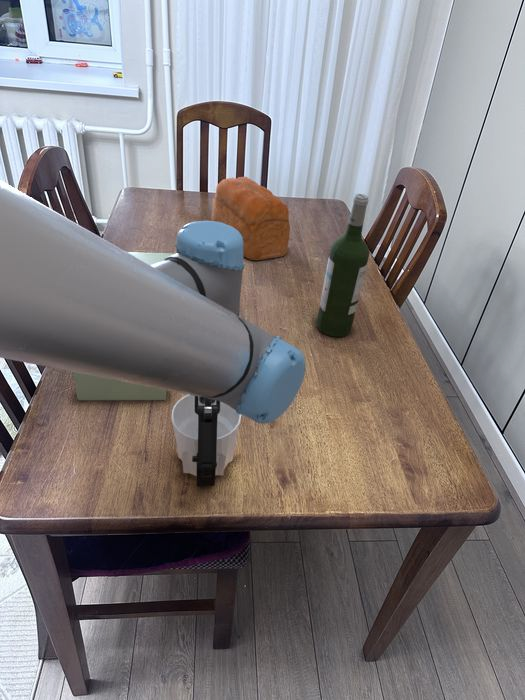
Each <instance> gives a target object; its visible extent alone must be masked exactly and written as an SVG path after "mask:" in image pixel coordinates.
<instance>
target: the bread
mask: <svg viewBox="0 0 525 700" xmlns="http://www.w3.org/2000/svg"><path fill="white" fill-rule="evenodd" d="M212 199H213V200H212V210H211V216H210V219H211V221H215V222H221V223H224V224H226V225H229V226H232V227H233V228H235V229H236V230H237V231H238V232H239V233H240V234H241V236H242V238H243V257H245V258H246V259H248V260H249V261H250V260H251V261H262V260H263V261H264V260H269V259H274V258H280V257H284V256H285V255H286V254H287V253H288V248H289V242H290V234H291V225H290V211H289V208H288V205H287V204H285V203H284V202H283V201H282V200H280V199H279V198H278V197H277V196H276V195H274V194H273V192H272V191H271V190H269V189H268V188H266V187H265V186H262V185H260V184H258V183H257V182H256V181H254V180H253V179H250V178H249V177H248V176H238V177H236V178H235V177H229V178H224V179H222V180H221V181H220V182H219V183H218V184H217V185H216V188H215V195H214V197H213V198H212Z"/></svg>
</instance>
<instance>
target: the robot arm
mask: <svg viewBox="0 0 525 700" xmlns="http://www.w3.org/2000/svg"><path fill="white" fill-rule="evenodd" d="M174 247H175V250H176V253H173V254H174V255H172V256H170V257H168V258H166V259H164V260H163V261H161V262H158V263H156V264H153V265H151V266H150V265H148V264H147V263H145V262H143V261H141V260H140V259H138V258H136V257H134V256H133V255H131V254H129V253H127V252H128V251H126V250H123V248H121V247H119V246H116V245H115V244H114V243H111V242H110V241H108V240H106V239H105V238H103V237H101V236H99V235H98V234H95V233H94V232H92V231H90V230H88V229H87V228H85V227H83V226H81V225H80V224H78V223H76V222H74V221H73V220H71V219H69V218H67V217H66V216H64V215H62V214H60V213H59V212H57V211H55V210H53V209H52V208H50V207H48V206H46V205H44V204H43V203H41V202H39V201H38V200H36V199H34V198H33V197H30V196H29V195H27V194H25V193H24V192H22V191H20V190H18V189H16V188H14V187H13V186H11V185H9V184H8V183H6V182H4V181H2V180H0V359H5V360H9V361H10V360H11V361H16V362H21V363H26V364H32V365H36V366H41V367H46V368H52V369H57V370H62V371H66V372H71V373H72V372H77V373H82V374H87V375H92V376H97V377H102V378H107V379H112V380H117V381H123V382H128V383H133V384H138V385H143V386H148V387H153V388H158V389H163V390H166V391H168V392H174V393H180V394H185V395H188V394H189V395H194V396H195V413H196V414H197V415H198V453H197V456H192V462H197V476H196V484H195V485H196V487H216V476H215V472H216V466H217V462H216V459H217V455H216V449H217V417H218V413H219V412H220V402H223V403H225V404H227V405H228V406H230V407H231V408H233V409H234V410H236V413H238V414H239V415H240V414H241V416H242V415H243V416H244V417H245V418H248V419H250V420H252V421H254V422H255V423H257V424H261V425H262V424H263V425H266V424H270V423H272V422H274V421H276V420H277V419H279V418H280V417H281V416H283V414H284V413H285V412H286V411H287V410H288V409H289V407H290V406H291V405H292V404H293V402H294V400H295V398H296V397H297V395H298V393H299V391H300V389H301V388H302V387H301V386H302V384H303V382H304V378H305V374H306V369H307V368H306V360H305V359H306V358H305V355H304V354H303V352H302V351H301V350H300V349H298V347H295V346H293V345H292V344H291V343H288V342H287V341H285V340H284V339H283V338H282V337H280V336H279V335H274V334H272V333H271V332H268V331H267V330H265V329H263V328H261V327H259V326H258V325H256V324H254V323H252V322H250V321H248V320H246V319H245V318H243V317H242V316H240V312H241V310H240V303H241V295H242V294H241V293H242V283H243V274H244V273H243V272H244V269H245V263H244V256H243V238H242V236H241V234H240V233H239V232H238V231H237V230H236V229H235V228H233V227H232V226H229V225H226V224H224V223H221V222H215V221H212V220H198V221H191V222H189V223H186V224H185V225H183V226H182V227H181V229H180V230H179V231H178V232H177V234H176V244H175V245H174ZM198 396H199V401H200V403H201V404H204V405H198ZM215 400H216V405H212V404H213V403H214V402H215Z"/></svg>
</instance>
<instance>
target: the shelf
mask: <svg viewBox="0 0 525 700" xmlns="http://www.w3.org/2000/svg"><path fill="white" fill-rule="evenodd" d="M126 252H127V253H129V254H131V255H133V256H134V257H136V258H138V259H140V260H141V261H143V262H145V263H147V264H148V265H150V266H151V265H153V264H156V263H158V262H161V261H163V260H164V259H166V258H168V257H170V256H172V255H174V254H175V253H168V252H167V253H166V252H143V251H142V252H141V251H139V252H138V251H126ZM71 373H72V378H73V382H74V388H75V393H76V398H77V401H166V400H167V390H163V389H158V388H153V387H148V386H143V385H138V384H133V383H128V382H123V381H117V380H112V379H107V378H102V377H97V376H92V375H87V374H82V373H77V372H71Z"/></svg>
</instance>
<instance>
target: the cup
mask: <svg viewBox="0 0 525 700" xmlns="http://www.w3.org/2000/svg"><path fill="white" fill-rule="evenodd" d="M198 405H204V404H201V403H200V401H199V396H198ZM212 405H216V400H215V402H214V403H213V404H212ZM170 418H171V423H172V428H173V433H174V437H175V444H176V450H177V451H176V452H177V457H178V458H179V460H181V463H182V472H183V474H189V475H190V474H191V475H193V476H195V477H197V462H192V456H197V453H198V415H197V414H196V413H195V396H194V395H189V394H185V395H184V396H183V397H181V398H180V399H178V400H177V402H175V404H174V406H173V408H172V410H171V417H170ZM241 419H242V414H240V415H239V414H238V413H236V410H234V409H233V408H231V407H230V406H228V405H227V404H225V403H223V402H220V412H219V413H218V417H217V449H216V455H217V459H216V462H217V466H216V472H215V477H216V476H224V474H225V469H226V467H227V466H228V464H230V463H231V462H232V461H234V455H235V449H236V444H237V438H238V433H239V429H240V426H241V425H240V424H241V421H242V420H241Z"/></svg>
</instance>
